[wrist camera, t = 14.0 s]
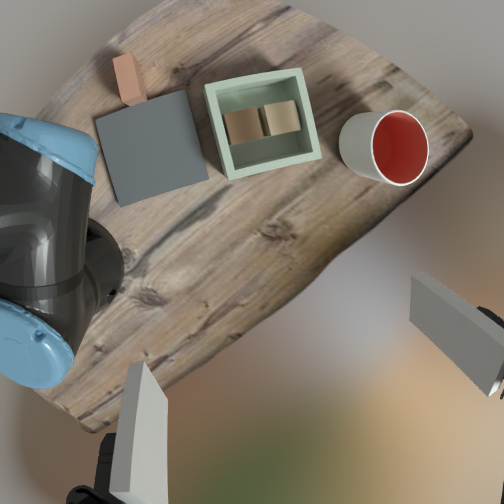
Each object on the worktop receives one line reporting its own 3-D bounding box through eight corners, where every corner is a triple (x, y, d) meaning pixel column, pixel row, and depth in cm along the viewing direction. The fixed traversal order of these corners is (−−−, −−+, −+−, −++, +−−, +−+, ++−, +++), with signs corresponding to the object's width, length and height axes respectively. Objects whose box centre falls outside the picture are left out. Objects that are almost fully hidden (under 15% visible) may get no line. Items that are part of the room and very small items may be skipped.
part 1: (228, 145, 39) (231, 145, 35) (221, 116, 38) (224, 114, 34) (257, 138, 39) (263, 137, 36) (250, 110, 38) (256, 106, 34)
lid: (122, 205, 40) (111, 215, 34) (89, 83, 33) (74, 75, 27) (208, 178, 41) (210, 183, 35) (176, 53, 34) (173, 38, 28)
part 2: (264, 136, 39) (271, 135, 36) (257, 108, 38) (263, 105, 34) (291, 130, 40) (301, 129, 36) (285, 103, 38) (294, 100, 35)
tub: (224, 175, 41) (228, 180, 36) (203, 93, 37) (204, 84, 31) (305, 155, 42) (321, 158, 37) (287, 76, 38) (301, 67, 32)
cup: (324, 128, 41) (357, 126, 32) (374, 104, 41) (413, 99, 32) (351, 186, 45) (387, 199, 36) (397, 159, 45) (437, 166, 36)
